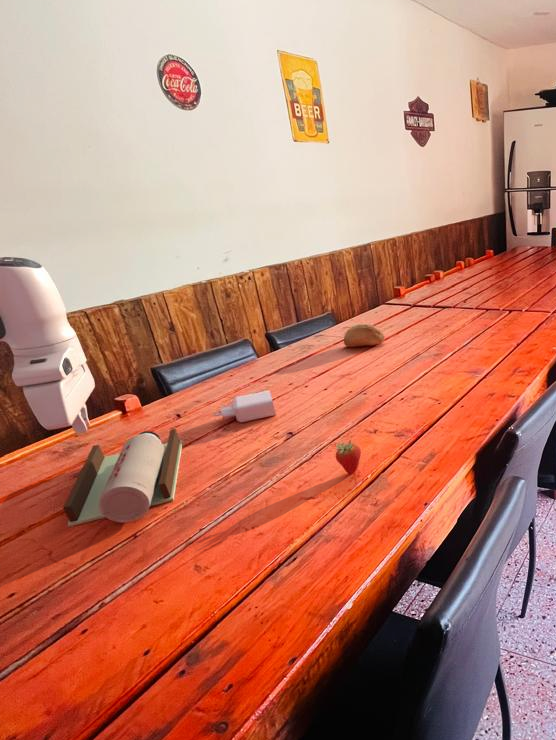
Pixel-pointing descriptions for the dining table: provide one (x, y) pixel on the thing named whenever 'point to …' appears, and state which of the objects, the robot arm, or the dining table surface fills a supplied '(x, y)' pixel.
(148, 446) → the thermos bottle
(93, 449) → the tray
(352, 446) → the fruit
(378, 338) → the bread roll
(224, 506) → the dining table surface
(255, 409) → the white nozzle bottle
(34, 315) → the robot arm
